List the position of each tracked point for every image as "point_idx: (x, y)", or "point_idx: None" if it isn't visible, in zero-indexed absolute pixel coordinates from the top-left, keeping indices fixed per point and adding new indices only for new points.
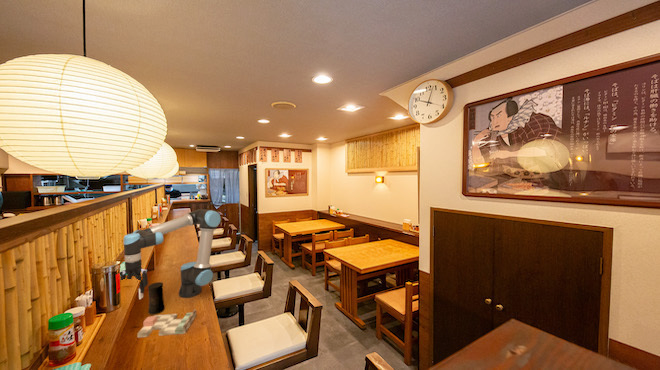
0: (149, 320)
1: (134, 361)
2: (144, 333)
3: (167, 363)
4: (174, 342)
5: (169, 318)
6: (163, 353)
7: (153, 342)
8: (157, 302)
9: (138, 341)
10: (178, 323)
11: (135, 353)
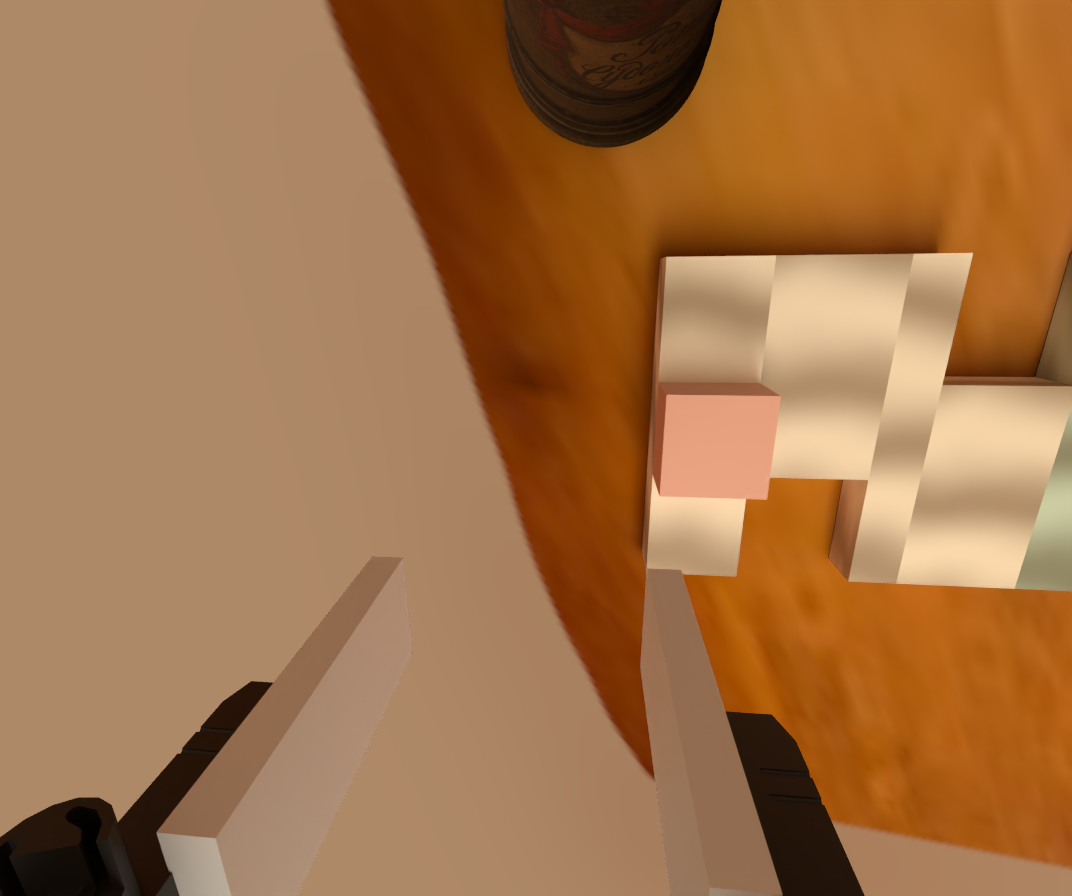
0: (722, 480)
1: None
2: (710, 572)
3: (991, 846)
4: (998, 666)
5: (898, 358)
6: (936, 760)
7: (811, 633)
8: (678, 53)
9: None
10: (1034, 479)
11: None
